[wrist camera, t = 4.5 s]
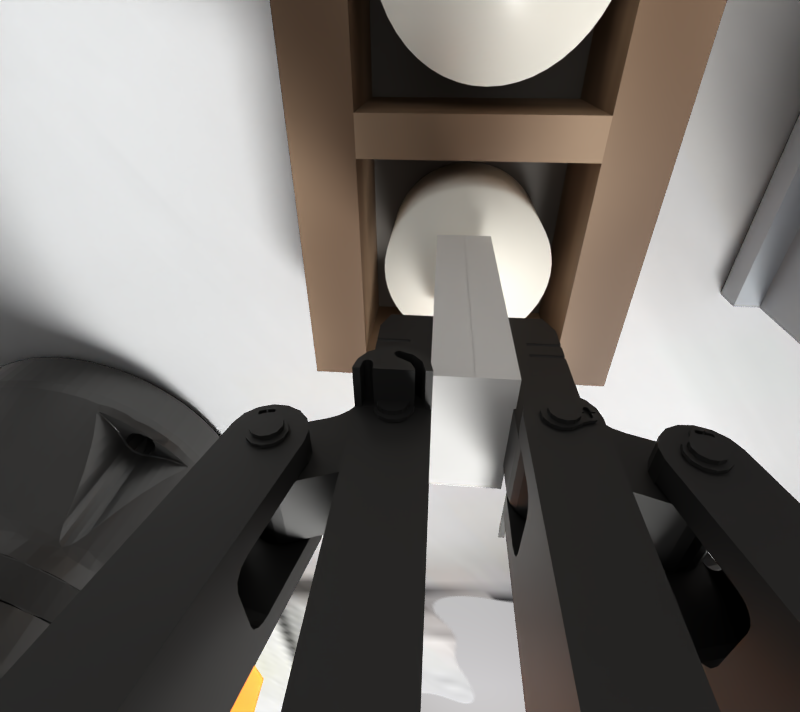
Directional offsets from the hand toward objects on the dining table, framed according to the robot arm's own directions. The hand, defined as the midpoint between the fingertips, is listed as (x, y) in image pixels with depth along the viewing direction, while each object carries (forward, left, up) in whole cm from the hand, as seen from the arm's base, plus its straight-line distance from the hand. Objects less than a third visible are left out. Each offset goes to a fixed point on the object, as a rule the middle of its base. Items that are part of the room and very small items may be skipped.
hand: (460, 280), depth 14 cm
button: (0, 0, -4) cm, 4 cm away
